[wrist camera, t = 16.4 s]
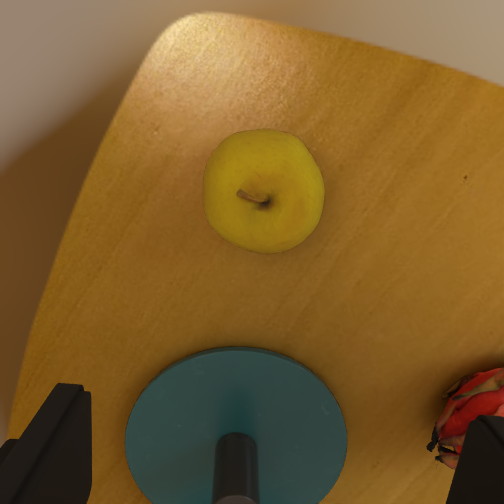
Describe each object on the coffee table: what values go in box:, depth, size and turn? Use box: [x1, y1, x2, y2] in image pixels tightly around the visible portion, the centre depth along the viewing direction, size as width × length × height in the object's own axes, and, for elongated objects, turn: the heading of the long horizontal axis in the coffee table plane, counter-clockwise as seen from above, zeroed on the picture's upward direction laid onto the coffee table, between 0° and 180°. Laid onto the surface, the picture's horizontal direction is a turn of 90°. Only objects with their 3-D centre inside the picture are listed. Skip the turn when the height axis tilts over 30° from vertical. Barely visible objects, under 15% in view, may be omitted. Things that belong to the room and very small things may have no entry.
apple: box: [203, 129, 325, 254], centre depth 24 cm, size 6×6×8 cm
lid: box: [125, 347, 347, 504], centre depth 30 cm, size 16×16×7 cm
